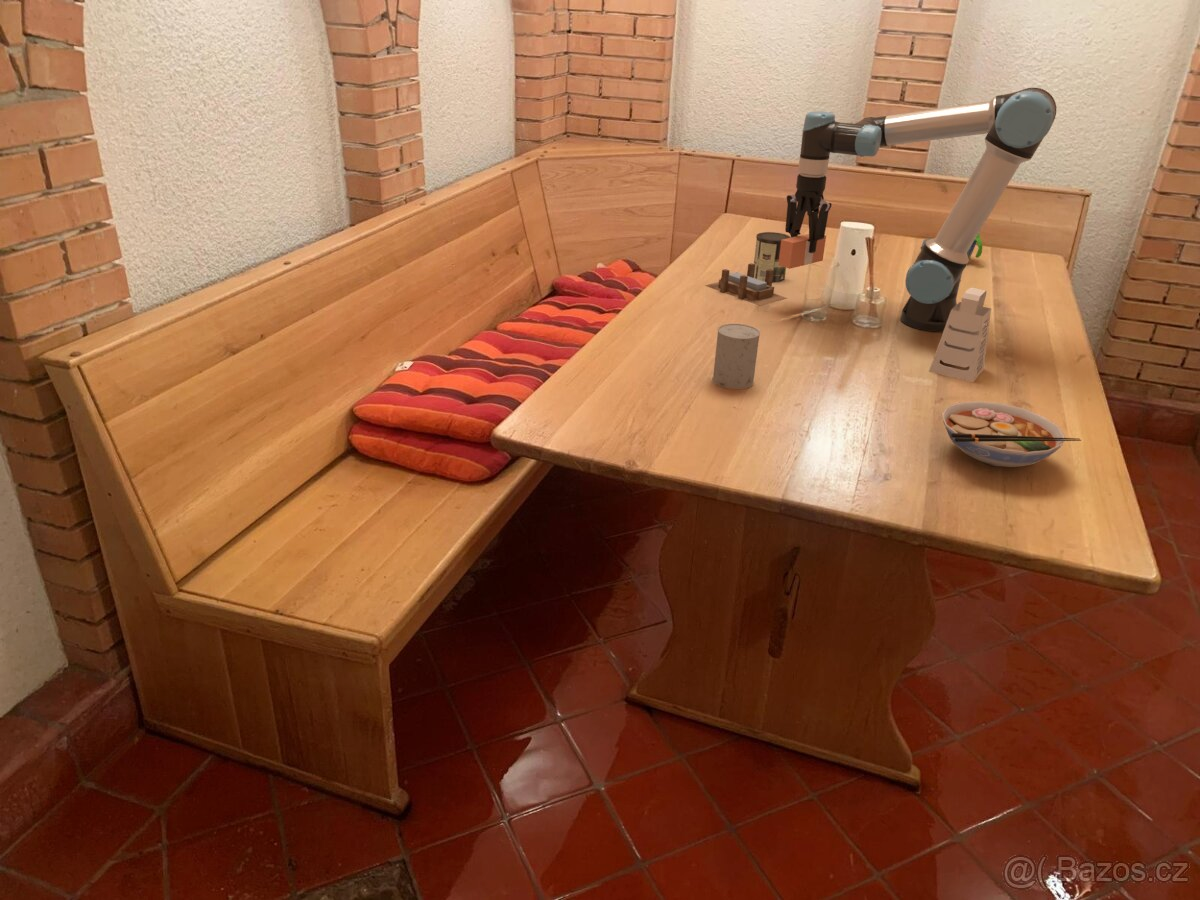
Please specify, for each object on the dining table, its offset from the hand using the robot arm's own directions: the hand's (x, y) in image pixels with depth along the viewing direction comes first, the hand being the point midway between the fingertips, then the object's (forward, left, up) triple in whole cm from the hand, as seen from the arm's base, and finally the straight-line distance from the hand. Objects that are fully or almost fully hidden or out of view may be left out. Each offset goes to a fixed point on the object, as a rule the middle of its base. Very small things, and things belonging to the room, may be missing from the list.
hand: (800, 261), depth 249 cm
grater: (-51, -1, -15) cm, 53 cm away
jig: (+18, 0, -15) cm, 23 cm away
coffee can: (+24, -17, -15) cm, 33 cm away
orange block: (0, 0, 0) cm, 0 cm away
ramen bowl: (-81, +35, -15) cm, 89 cm away
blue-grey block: (+18, 0, -14) cm, 23 cm away
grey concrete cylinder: (-24, +50, -15) cm, 57 cm away
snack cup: (+3, -90, -15) cm, 92 cm away
